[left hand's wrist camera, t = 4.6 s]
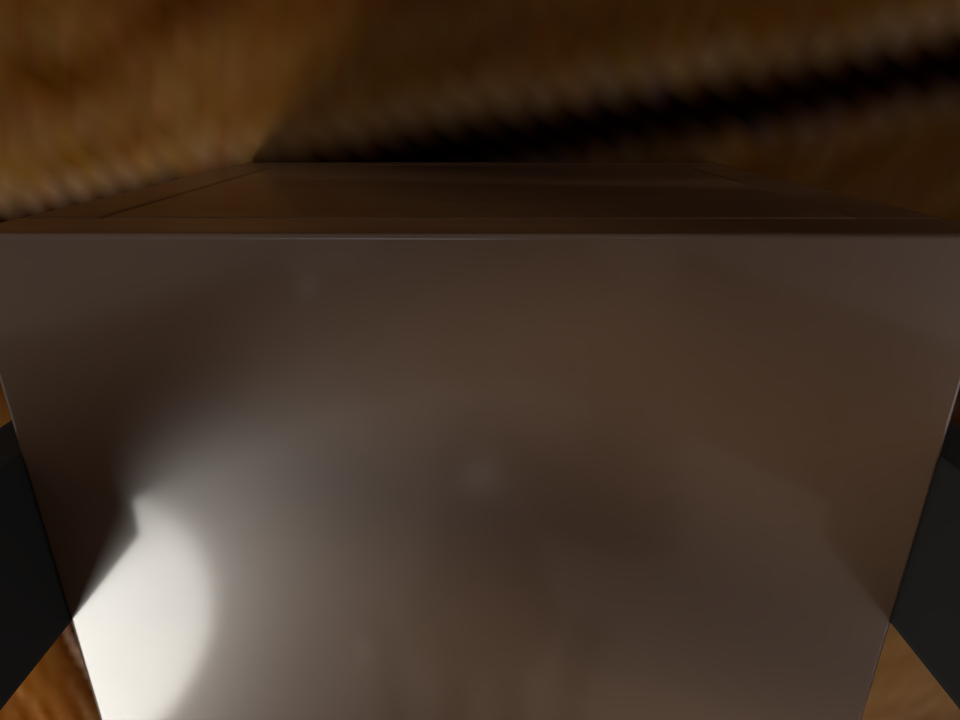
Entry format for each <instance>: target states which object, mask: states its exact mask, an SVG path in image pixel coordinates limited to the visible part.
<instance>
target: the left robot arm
mask: <svg viewBox="0 0 960 720" xmlns="http://www.w3.org/2000/svg"><path fill="white" fill-rule="evenodd" d="M70 622H71V619H70V615H69V612H68V608H67V605H66V602H65V598H64V595H63V592H62V588H61V585H60V581H59V578H58V575H57V571H56V568H55V565H54V561H53V558H52V554H51V551H50V548H49V544H48V541H47V538H46V534H45V531H44V527H43V524H42V521H41V517H40V514H39V511H38V507H37V504H36V500H35V497H34V494H33V490H32V487H31V484H30V480H29V477H28V473H27V470H26V467H25V463H24V460H23V457H22V453H21V450H20V446H19V443H18V440H17V436H16V433H15V430H14V426H13V423H12V420H11V421H10V422H8V423H7V424H5V425H4V426H2V427H1V428H0V710H1V709H2V707H3V706H4V705H5V704H6V702H7V701H8V700H9V699H10V697H11V696H12V695H13V694H14V692H15V691H16V690H17V689H18V687H19V686H20V685H21V683H22V682H23V681H24V680H25V678H26V677H27V676H28V675H29V673H30V672H31V671H32V670H33V668H34V667H35V666H36V665H37V663H38V662H39V661H40V660H41V658H42V657H43V656H44V655H45V653H46V652H47V651H48V650H49V648H50V647H51V646H52V644H53V643H54V642H55V641H56V639H57V638H58V637H59V636H60V634H61V633H62V632H63V631H64V629H65V628H66V627H67V626H68V624H69V623H70ZM890 622H891V623H892V625H893V626H894V627H895V628H896V630H897V631H898V632H899V633H900V635H901V636H902V637H903V638H904V640H905V641H906V642H907V644H908V645H909V646H910V647H911V649H912V650H913V651H914V652H915V654H916V655H917V656H918V657H919V659H920V660H921V661H922V662H923V664H924V665H925V666H926V667H927V669H928V670H929V671H930V672H931V674H932V675H933V676H934V677H935V679H936V680H937V681H938V683H939V684H940V685H941V686H942V688H943V689H944V690H945V691H946V693H947V694H948V695H949V696H950V698H951V699H952V700H953V701H954V703H955V704H956V705H957V706H958V708H959V709H960V427H958V426H957V425H955V424H954V423H952V422H951V421H950V422H949V426H948V429H947V433H946V436H945V439H944V443H943V446H942V449H941V453H940V456H939V459H938V463H937V466H936V469H935V473H934V476H933V480H932V483H931V486H930V490H929V493H928V496H927V500H926V503H925V506H924V510H923V513H922V517H921V520H920V523H919V527H918V530H917V533H916V537H915V540H914V543H913V547H912V550H911V554H910V557H909V560H908V564H907V567H906V570H905V574H904V577H903V580H902V584H901V587H900V590H899V594H898V597H897V601H896V604H895V607H894V611H893V614H892V617H891V621H890Z"/></svg>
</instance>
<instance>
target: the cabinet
mask: <svg viewBox="0 0 960 720" xmlns="http://www.w3.org/2000/svg"><path fill="white" fill-rule="evenodd" d="M0 382H1V386H2V389H3V392H4V396H5V399H6V403H7V406H8V409H9V413H10V416H11V419H12V423H13V426H14V430H15V433H16V436H17V440H18V443H19V446H20V450H21V453H22V457H23V460H24V463H25V467H26V470H27V473H28V477H29V480H30V484H31V487H32V490H33V494H34V497H35V500H36V504H37V507H38V511H39V514H40V517H41V521H42V524H43V527H44V531H45V534H46V538H47V541H48V544H49V548H50V551H51V554H52V558H53V561H54V565H55V568H56V571H57V575H58V578H59V581H60V585H61V588H62V592H63V595H64V598H65V602H66V605H67V608H68V612H69V615H70V619H71V622H72V625H73V629H74V632H75V635H76V639H77V642H78V646H79V649H80V652H81V656H82V659H83V662H84V666H85V669H86V672H87V676H88V679H89V683H90V686H91V689H92V693H93V696H94V699H95V703H96V706H97V710H98V713H99V716H100V720H861V718H862V715H863V712H864V708H865V705H866V701H867V698H868V695H869V691H870V688H871V685H872V681H873V678H874V675H875V671H876V668H877V664H878V661H879V658H880V654H881V651H882V648H883V644H884V641H885V638H886V634H887V631H888V627H889V624H890V621H891V617H892V614H893V611H894V607H895V604H896V601H897V597H898V594H899V590H900V587H901V584H902V580H903V577H904V574H905V570H906V567H907V564H908V560H909V557H910V554H911V550H912V547H913V543H914V540H915V537H916V533H917V530H918V527H919V523H920V520H921V517H922V513H923V510H924V506H925V503H926V500H927V496H928V493H929V490H930V486H931V483H932V480H933V476H934V473H935V469H936V466H937V463H938V459H939V456H940V453H941V449H942V446H943V443H944V439H945V436H946V433H947V429H948V426H949V422H950V419H951V416H952V412H953V409H954V406H955V402H956V399H957V396H958V392H959V389H960V223H958V222H954V221H950V220H946V219H940V218H938V217H935V216H931V215H927V214H923V213H919V212H915V211H911V210H907V209H903V208H898V207H894V206H890V205H886V204H882V203H878V202H874V201H870V200H866V199H862V198H857V197H853V196H849V195H845V194H841V193H837V192H833V191H829V190H825V189H821V188H817V187H812V186H808V185H804V184H800V183H796V182H792V181H788V180H784V179H780V178H776V177H771V176H767V175H763V174H759V173H755V172H751V171H747V170H743V169H739V168H735V167H731V166H725V165H721V164H717V163H713V162H249V163H245V164H241V165H237V166H233V167H229V168H225V169H221V170H216V171H212V172H208V173H204V174H200V175H196V176H192V177H188V178H184V179H180V180H176V181H172V182H167V183H163V184H159V185H155V186H151V187H147V188H143V189H139V190H135V191H131V192H127V193H123V194H118V195H114V196H110V197H106V198H102V199H98V200H94V201H90V202H86V203H82V204H78V205H74V206H69V207H65V208H61V209H57V210H53V211H49V212H45V213H41V214H37V215H33V216H29V217H27V218H25V219H15V220H11V221H7V222H2V223H0Z"/></svg>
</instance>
